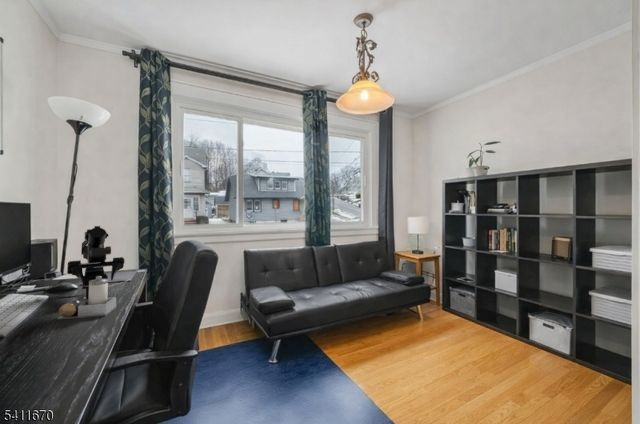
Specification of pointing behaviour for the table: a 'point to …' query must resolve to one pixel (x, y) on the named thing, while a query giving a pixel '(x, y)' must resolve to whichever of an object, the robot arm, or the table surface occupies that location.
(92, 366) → the table surface
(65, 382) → the table surface
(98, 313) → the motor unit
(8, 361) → the table surface
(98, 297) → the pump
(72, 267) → the robot arm
